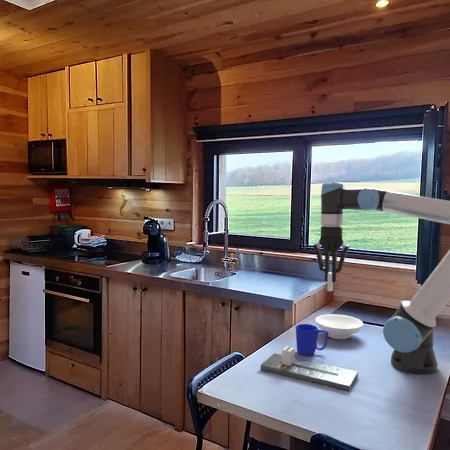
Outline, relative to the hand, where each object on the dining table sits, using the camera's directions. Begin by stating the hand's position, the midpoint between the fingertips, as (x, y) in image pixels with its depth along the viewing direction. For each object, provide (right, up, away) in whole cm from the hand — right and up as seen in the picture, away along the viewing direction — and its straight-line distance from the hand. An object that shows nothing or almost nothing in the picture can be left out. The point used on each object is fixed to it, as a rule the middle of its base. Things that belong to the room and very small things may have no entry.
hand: (330, 290), depth 155 cm
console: (-10, -27, -11) cm, 30 cm away
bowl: (+10, -24, +26) cm, 37 cm away
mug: (-6, -25, +7) cm, 27 cm away
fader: (-16, -24, -7) cm, 30 cm away
